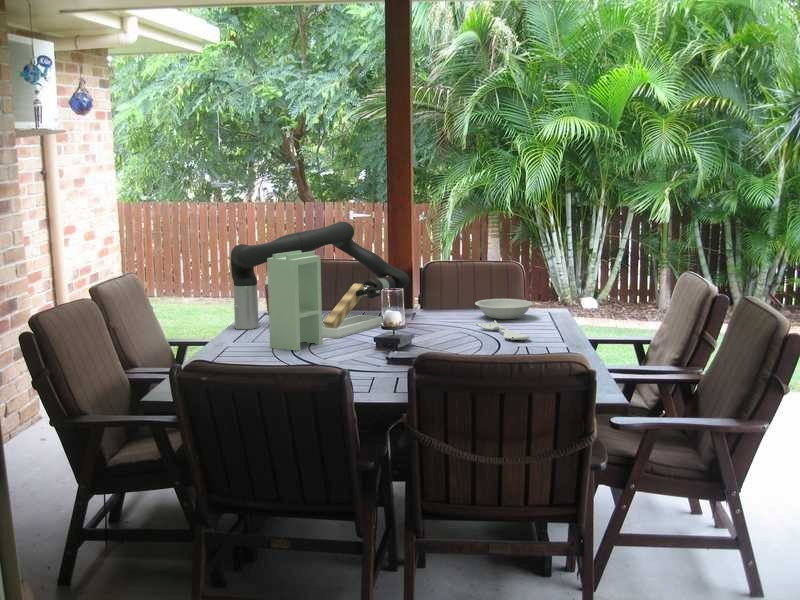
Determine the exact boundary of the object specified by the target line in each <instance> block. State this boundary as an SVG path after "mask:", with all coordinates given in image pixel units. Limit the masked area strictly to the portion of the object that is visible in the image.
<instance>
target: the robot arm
mask: <svg viewBox="0 0 800 600" xmlns="http://www.w3.org/2000/svg"><path fill="white" fill-rule="evenodd" d="M354 235H355V228H354V226H353V225H351V223H349V222H346V221H338V222H336V223H335V222H334V223H333V224H330V225H327V226H324V227H321V228H316V229H308V230H304V231H299V232H294V233H289V234H285V235H283V236H280V237H278V238H275V239H274V240H271V241H268V242H265V243H260V244H252V245H251V244H250V245H249V244H244V243H241V244H240V243H238V244H237V245H235V246H233V248H232V249H231V251H230V269H231V272H230V273H231V278H232V281H233V300H234V301H233V310H234V328H236V329H235V330H255V329H258V328H259V326H260V324H259V323H260V322H259V300H258V298H259V297H258V278H257V276H256V274H255V269H254V268H255V267H257V266H260V265H263V264H265V263H266V264H267V258H272V257H273V254H278V253H285V252H292V251H299V250H300V251H302V253H304V252H311V251H316V250H318V249H319V248H322V247H324V246H327V245H328V246H329V245H332V246H334V248H336V249H338V250H340V251H342V252H343V253H345V254H346V255H348V256H350V257H351V258H352V259H354V260H355V261H356V262H358V263H360V264H361V265H363V266H364V267H365V268H366V269H368V270H369V271H370V272H371V273H372V274H374V276H376V278H371V279H367V280H366V281H365V282H364V283H362V284H363V287H364V289H362V290H358V291H356V296H357V297H358V296H362V295H363V296H362V297H366V298H368V299H375V298H379V297H382V296H381V290H382V289H385V288H388V289H390V288H403V290H404V289H405V288H406V287H407V286H408V285H409V284H410V281H411V280H410V277H409V275H408V274H407V273H406V271H403V270H401V269H399V268H397V267H394V266H393V265H391V264H389V263H388V262H387V261H385V260H384V259H383V258H382V257H381V256H379V255H378V254H377V253H375V252H374V251H373V252H372V251H371V250H369V249H367V248H365V247H363V246H362V245H360V244H358V243H356V242H355V241H354V240H353V238H354ZM351 287H352V285H351V286H349V287H348V289H346V293H347V292H348V291H349V289H350V288H351ZM346 293H345V294H346ZM254 328H255V329H254Z"/></svg>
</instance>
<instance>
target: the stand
mask: <svg viewBox="0 0 800 600" xmlns="http://www.w3.org/2000/svg"><path fill="white" fill-rule="evenodd" d="M315 251H316V250H313V251H311V252H304V253H302V251H300V250H299V251H292V252H285V253H278V254H273V257H272V258H267V262H266V265H267V278H268V298H269V314H268V320H269V321H268V322H269V323H268V324H269V348H270V349H276V348H278V349H279V350H283V349H287V350H286V351H291V350H296V351H295V352H298V351H297V350H299V351H301V343H302V342H307V343H306V344H310V343H315V344H314V345H318V344H320V345H322V343H323V337H322V325H323V305H322V304H323V303H322V265H321V255H316V252H315ZM278 349H277V350H278Z"/></svg>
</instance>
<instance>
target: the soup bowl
mask: <svg viewBox="0 0 800 600" xmlns="http://www.w3.org/2000/svg"><path fill="white" fill-rule="evenodd" d="M474 304H475V305H476V306H477V307H478V308H479V310H480V311H481V312H482V314H484V315H485V316H486V317H489V318H492V319H496V320H512V319H517V318H520V317H522V316H524V315H525V314H526V313H527V312H528V310H529V309H530V307H533V306H534V302H533V301H529V300H525V299H518V298H517V299H516V298H490V299H482V300H477V301H475V302H474Z"/></svg>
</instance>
